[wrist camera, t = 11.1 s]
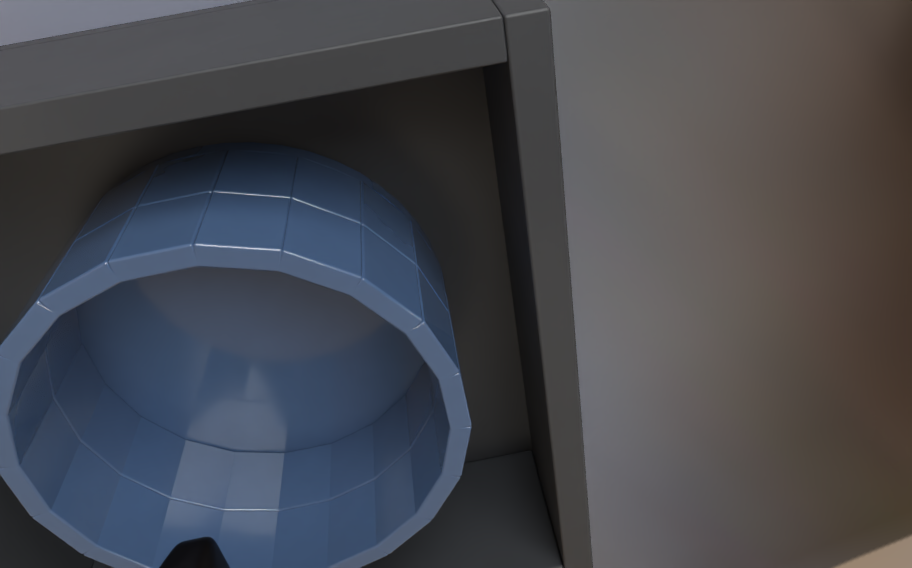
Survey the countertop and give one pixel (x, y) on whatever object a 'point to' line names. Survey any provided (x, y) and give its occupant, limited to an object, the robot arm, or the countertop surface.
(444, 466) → the rice bowl
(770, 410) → the countertop surface
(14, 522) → the tote
